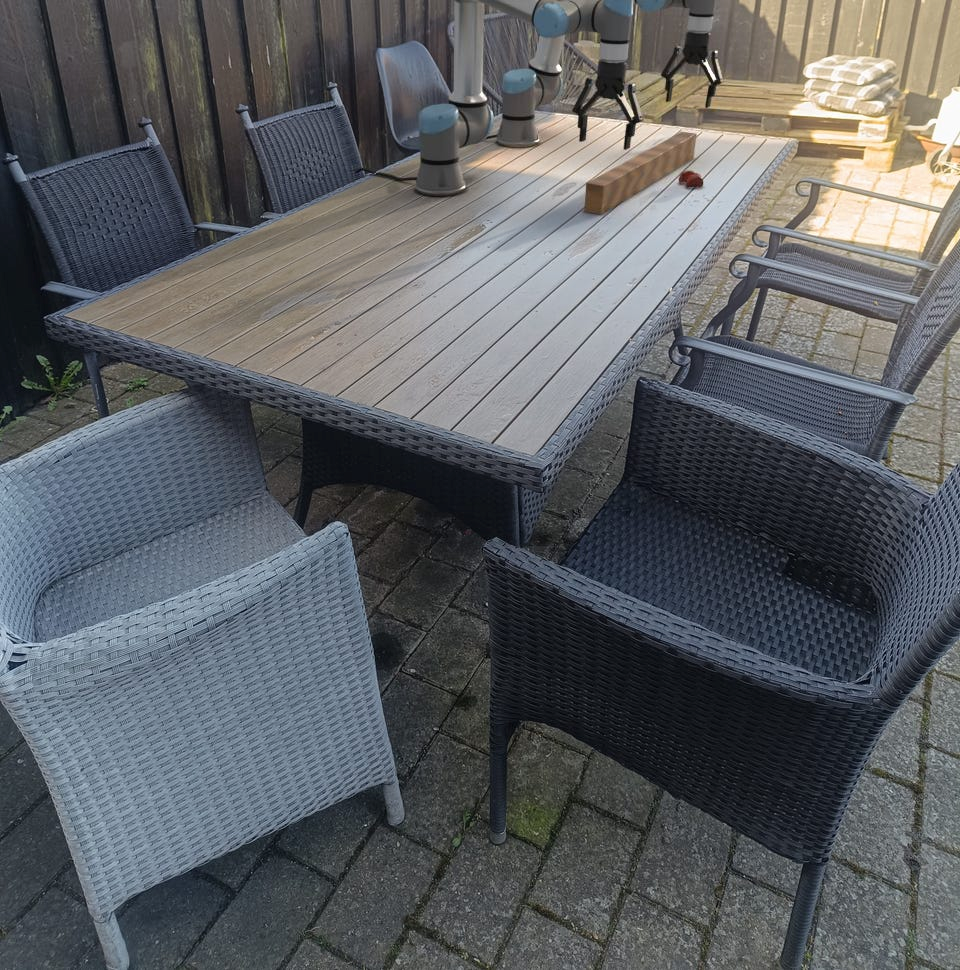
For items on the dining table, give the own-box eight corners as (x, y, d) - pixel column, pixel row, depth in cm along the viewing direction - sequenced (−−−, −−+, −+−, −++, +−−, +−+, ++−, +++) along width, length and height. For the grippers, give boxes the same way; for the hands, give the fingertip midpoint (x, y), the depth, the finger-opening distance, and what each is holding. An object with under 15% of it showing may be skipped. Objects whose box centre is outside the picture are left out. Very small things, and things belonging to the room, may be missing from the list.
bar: (601, 214, 239) (603, 186, 235) (584, 211, 242) (586, 182, 237) (693, 158, 288) (696, 133, 283) (678, 156, 290) (681, 131, 286)
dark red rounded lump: (694, 166, 263) (706, 173, 257) (693, 180, 266) (704, 187, 260) (677, 168, 262) (689, 175, 256) (676, 182, 265) (687, 189, 259)
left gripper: (662, 63, 218) (651, 149, 231) (577, 52, 229) (570, 134, 241) (651, 68, 213) (640, 155, 225) (564, 56, 223) (558, 140, 236)
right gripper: (741, 33, 260) (728, 107, 273) (666, 25, 271) (656, 97, 284) (733, 37, 255) (720, 111, 268) (656, 28, 266) (647, 101, 279)
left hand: (604, 144), depth 233 cm, fingers open, 13 cm apart
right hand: (687, 104), depth 276 cm, fingers open, 13 cm apart
